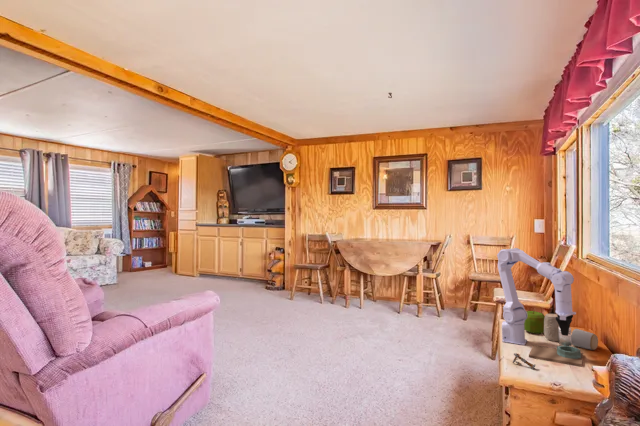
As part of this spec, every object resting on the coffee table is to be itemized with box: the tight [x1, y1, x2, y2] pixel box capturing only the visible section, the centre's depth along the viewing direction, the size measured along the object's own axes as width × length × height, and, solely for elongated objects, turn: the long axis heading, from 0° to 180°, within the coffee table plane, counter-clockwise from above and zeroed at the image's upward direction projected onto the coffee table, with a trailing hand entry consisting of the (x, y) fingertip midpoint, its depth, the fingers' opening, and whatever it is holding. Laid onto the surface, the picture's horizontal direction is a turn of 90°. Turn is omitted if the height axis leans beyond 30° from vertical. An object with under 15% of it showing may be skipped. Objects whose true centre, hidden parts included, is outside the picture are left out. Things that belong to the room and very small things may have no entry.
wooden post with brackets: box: [512, 353, 536, 370], centre depth 142 cm, size 2×8×4 cm, turn 41°
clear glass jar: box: [558, 326, 573, 347], centre depth 149 cm, size 4×4×7 cm
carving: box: [543, 313, 559, 343], centre depth 170 cm, size 6×8×12 cm
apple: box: [524, 310, 545, 335], centre depth 182 cm, size 11×11×11 cm
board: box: [528, 345, 584, 367], centre depth 150 cm, size 18×14×4 cm
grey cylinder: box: [571, 328, 599, 351], centre depth 160 cm, size 11×8×8 cm
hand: (565, 333), depth 149 cm, fingers closed on clear glass jar, 4 cm apart
